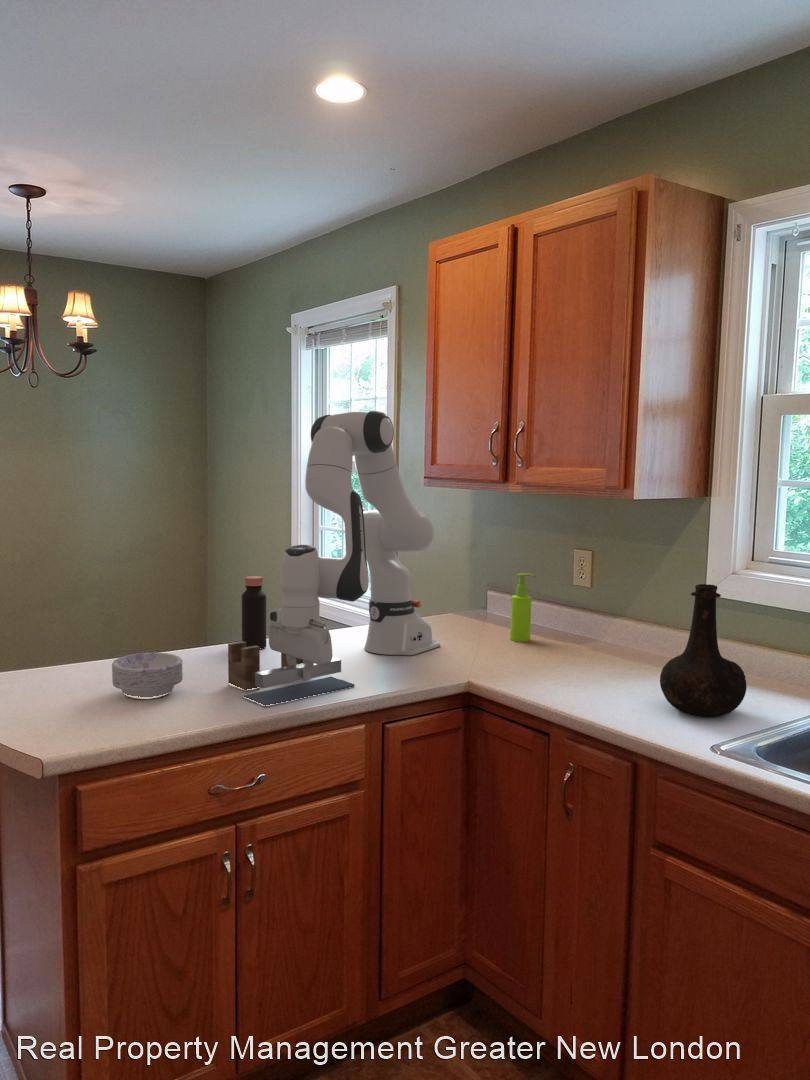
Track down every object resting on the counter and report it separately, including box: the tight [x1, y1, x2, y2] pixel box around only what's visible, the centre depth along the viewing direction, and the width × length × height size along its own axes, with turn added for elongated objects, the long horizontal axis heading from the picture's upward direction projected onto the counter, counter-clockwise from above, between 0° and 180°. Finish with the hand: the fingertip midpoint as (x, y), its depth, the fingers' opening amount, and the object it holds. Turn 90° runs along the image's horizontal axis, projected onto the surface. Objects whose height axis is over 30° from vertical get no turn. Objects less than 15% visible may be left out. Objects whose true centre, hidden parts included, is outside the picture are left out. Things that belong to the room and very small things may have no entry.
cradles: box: [227, 640, 303, 690], centre depth 200 cm, size 19×7×10 cm, turn 133°
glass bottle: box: [659, 583, 747, 719], centre depth 180 cm, size 18×18×28 cm
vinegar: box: [241, 575, 267, 649], centre depth 233 cm, size 7×7×20 cm
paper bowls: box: [111, 652, 184, 697], centre depth 188 cm, size 15×15×8 cm
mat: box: [242, 676, 356, 706], centre depth 192 cm, size 25×9×1 cm, turn 133°
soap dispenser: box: [509, 572, 536, 643], centre depth 249 cm, size 6×7×20 cm
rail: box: [255, 656, 342, 689], centre depth 191 cm, size 22×3×3 cm, turn 133°
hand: (299, 676), depth 191 cm, fingers closed on rail, 3 cm apart
